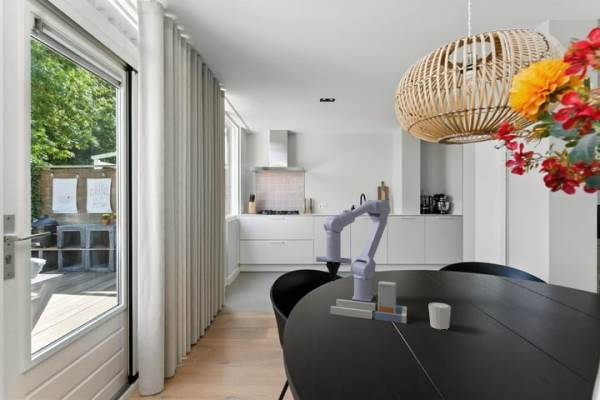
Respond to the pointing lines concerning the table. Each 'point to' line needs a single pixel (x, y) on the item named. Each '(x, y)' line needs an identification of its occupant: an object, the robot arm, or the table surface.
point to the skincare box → (387, 297)
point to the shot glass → (439, 315)
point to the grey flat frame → (367, 311)
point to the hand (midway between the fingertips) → (333, 280)
